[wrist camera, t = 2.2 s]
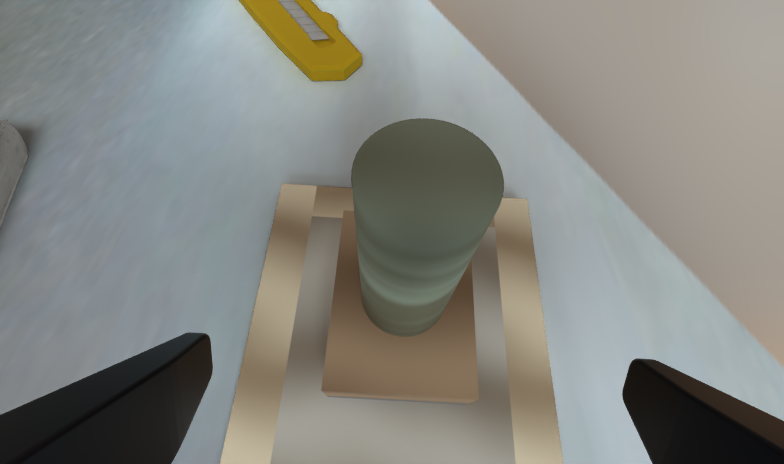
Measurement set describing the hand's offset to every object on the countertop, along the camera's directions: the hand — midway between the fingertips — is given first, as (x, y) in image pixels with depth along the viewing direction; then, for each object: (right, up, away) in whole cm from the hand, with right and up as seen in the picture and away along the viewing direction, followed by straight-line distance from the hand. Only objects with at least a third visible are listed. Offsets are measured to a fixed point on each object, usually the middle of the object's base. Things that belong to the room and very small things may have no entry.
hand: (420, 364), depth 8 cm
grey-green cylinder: (0, -1, +11) cm, 11 cm away
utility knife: (-10, +22, +24) cm, 34 cm away
